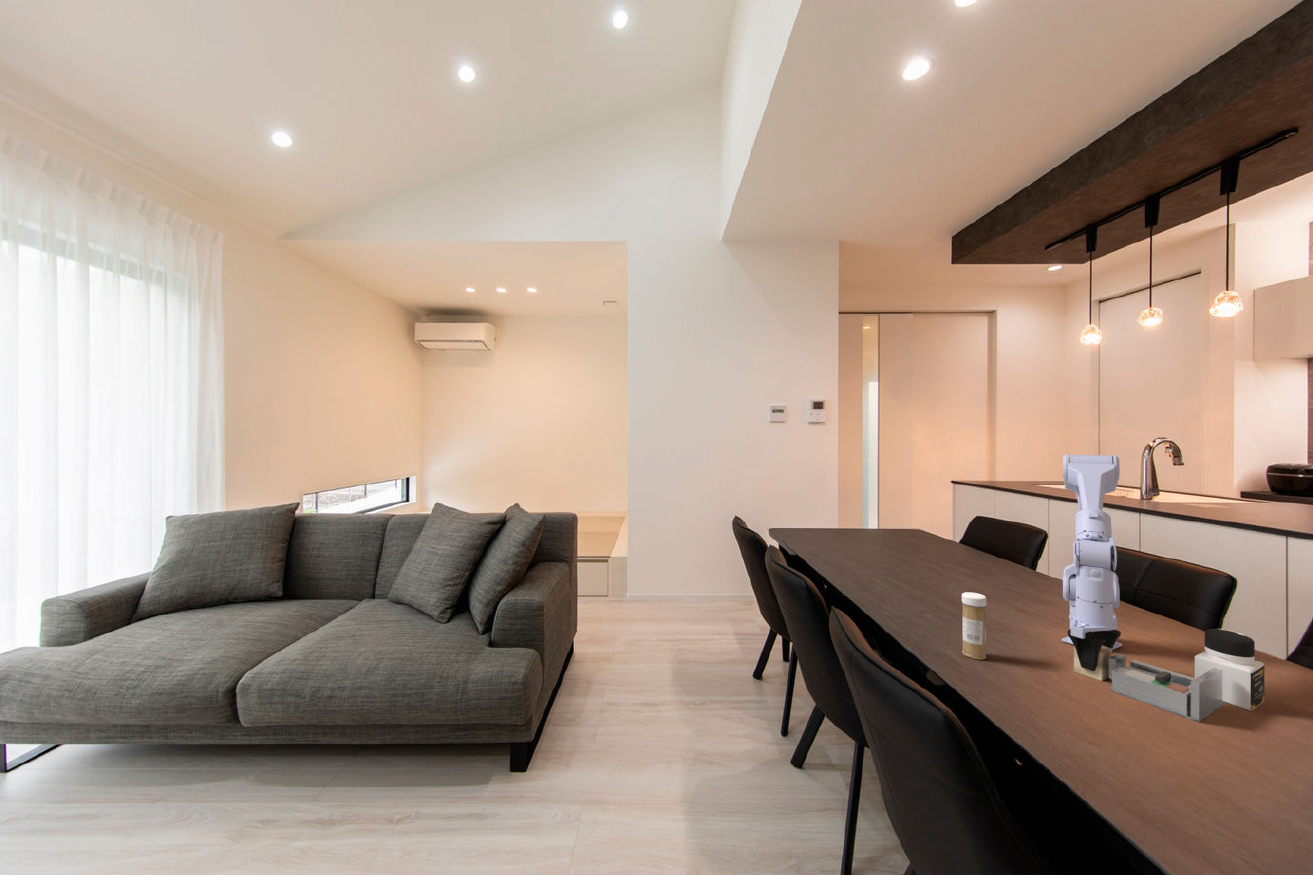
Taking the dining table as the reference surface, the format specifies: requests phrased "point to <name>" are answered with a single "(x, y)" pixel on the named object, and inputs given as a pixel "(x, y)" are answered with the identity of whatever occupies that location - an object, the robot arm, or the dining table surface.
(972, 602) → the sprinkles bottle
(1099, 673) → the block
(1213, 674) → the gauge housing
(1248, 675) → the medicine bottle
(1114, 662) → the grey l-shaped piece
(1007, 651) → the dining table surface
